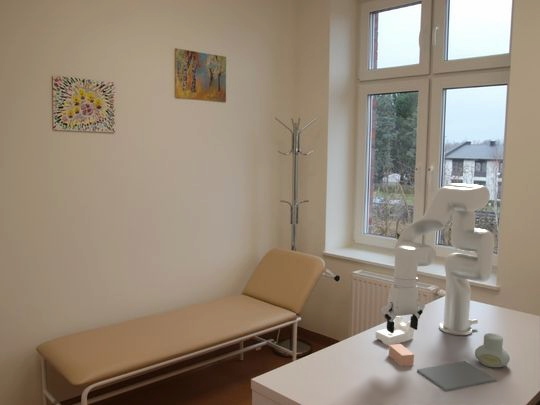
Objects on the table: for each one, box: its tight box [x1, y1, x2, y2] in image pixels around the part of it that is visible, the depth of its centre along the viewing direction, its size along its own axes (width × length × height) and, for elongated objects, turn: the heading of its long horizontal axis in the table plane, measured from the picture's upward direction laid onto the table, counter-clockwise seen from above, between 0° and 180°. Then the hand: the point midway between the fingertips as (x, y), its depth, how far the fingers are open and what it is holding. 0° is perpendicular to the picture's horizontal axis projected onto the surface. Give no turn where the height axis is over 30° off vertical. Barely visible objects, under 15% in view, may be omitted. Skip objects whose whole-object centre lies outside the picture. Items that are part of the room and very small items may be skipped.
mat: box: [416, 360, 497, 392], centre depth 163 cm, size 20×14×1 cm
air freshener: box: [474, 333, 511, 369], centre depth 171 cm, size 11×8×10 cm
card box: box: [388, 343, 415, 367], centre depth 174 cm, size 4×9×4 cm, turn 15°
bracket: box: [375, 316, 415, 347], centre depth 192 cm, size 13×7×8 cm, turn 122°
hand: (402, 330), depth 172 cm, fingers open, 9 cm apart
